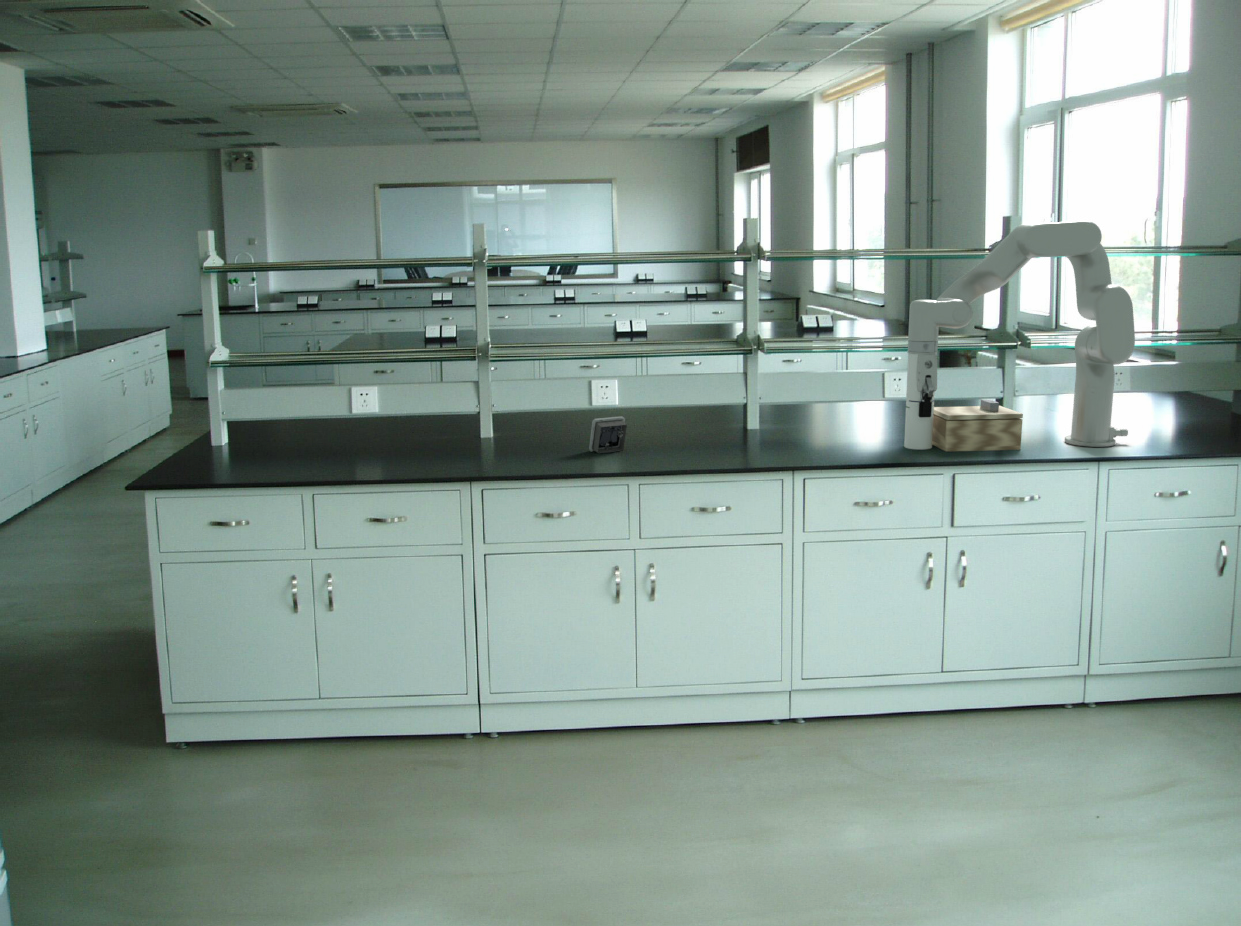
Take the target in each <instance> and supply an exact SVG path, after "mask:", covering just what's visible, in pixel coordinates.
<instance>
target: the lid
mask: <svg viewBox="0 0 1241 926" xmlns="http://www.w3.org/2000/svg"><path fill="white" fill-rule="evenodd" d="M934 414H935V415H937V416H940V417H942V418H944V419H947V420H970V419H1013V418H1020V419H1024V418H1023V417H1024V413H1023V412H1019V411H1016V410H1014V409H1010V408H1008V407H1004V406H1002V405H1000V403H999V402H998V401H995V400H993V399H990V398H989V399H988V398H987V399H980V405H977V406H976V405H975V406H974V405H972V406H970V405H969V406H968V405H967V406H934Z"/></svg>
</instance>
